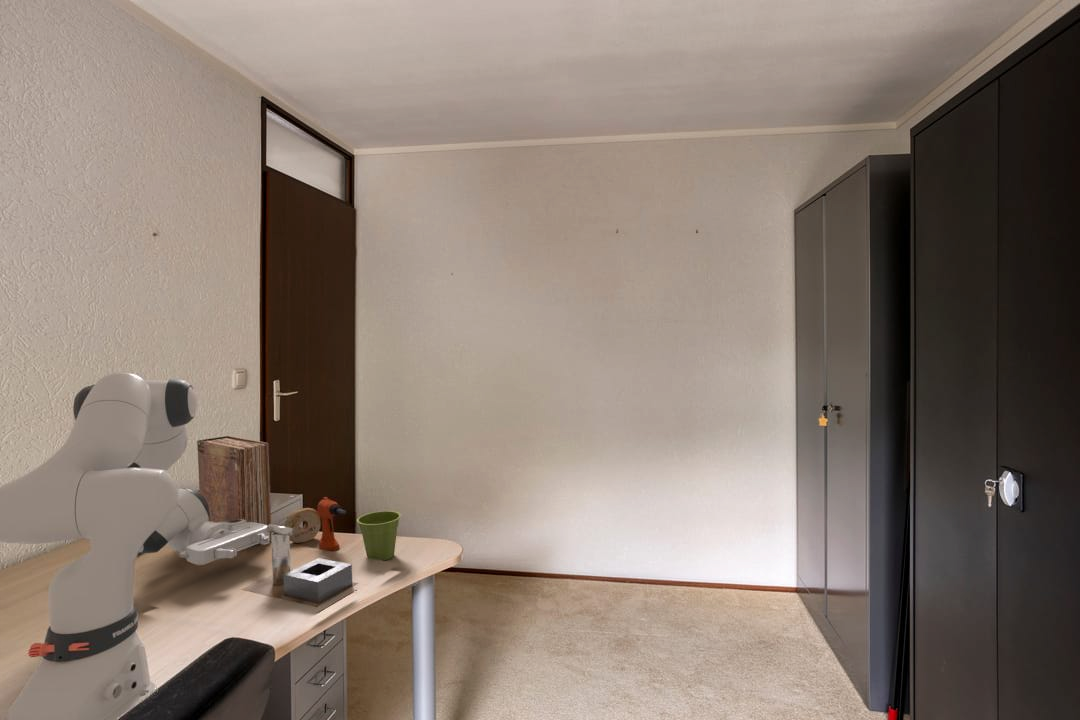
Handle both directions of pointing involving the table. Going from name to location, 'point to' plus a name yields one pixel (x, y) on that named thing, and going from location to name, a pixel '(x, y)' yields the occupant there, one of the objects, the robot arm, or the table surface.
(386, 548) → the plant pot
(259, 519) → the book
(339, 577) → the square socket block
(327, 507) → the toy drill
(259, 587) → the beige thin flat slab
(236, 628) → the table surface
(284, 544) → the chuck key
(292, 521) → the stone disc
